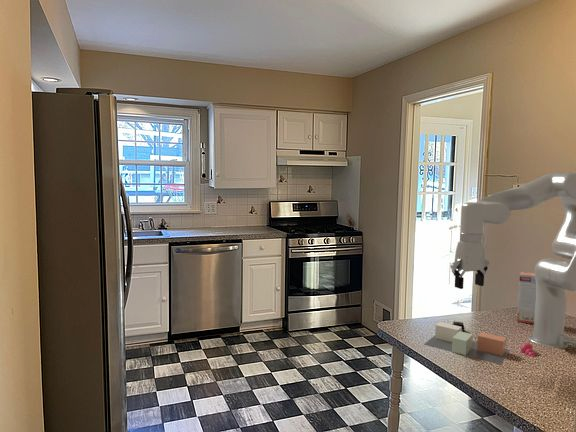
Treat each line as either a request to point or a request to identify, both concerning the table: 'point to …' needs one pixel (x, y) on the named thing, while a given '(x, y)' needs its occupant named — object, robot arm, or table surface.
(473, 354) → the baseplate
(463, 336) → the sage brick
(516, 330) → the table surface
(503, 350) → the terracotta brick
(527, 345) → the toy pieces
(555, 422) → the table surface
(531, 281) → the cracker box
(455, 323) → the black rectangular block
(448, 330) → the cream brick
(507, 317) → the table surface
